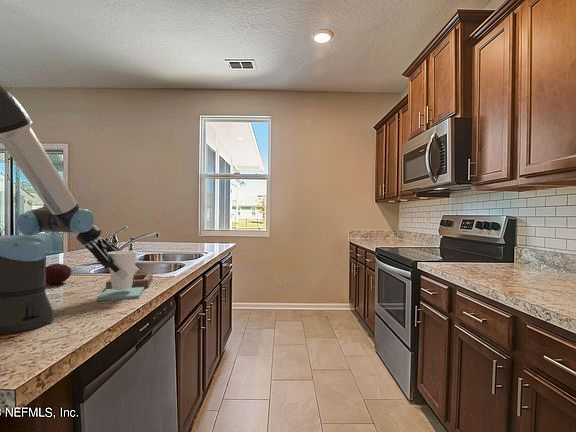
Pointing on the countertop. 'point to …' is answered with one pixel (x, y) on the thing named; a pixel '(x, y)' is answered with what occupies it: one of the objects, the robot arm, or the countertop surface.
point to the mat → (121, 294)
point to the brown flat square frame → (136, 281)
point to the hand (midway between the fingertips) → (131, 274)
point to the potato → (57, 273)
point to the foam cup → (127, 263)
